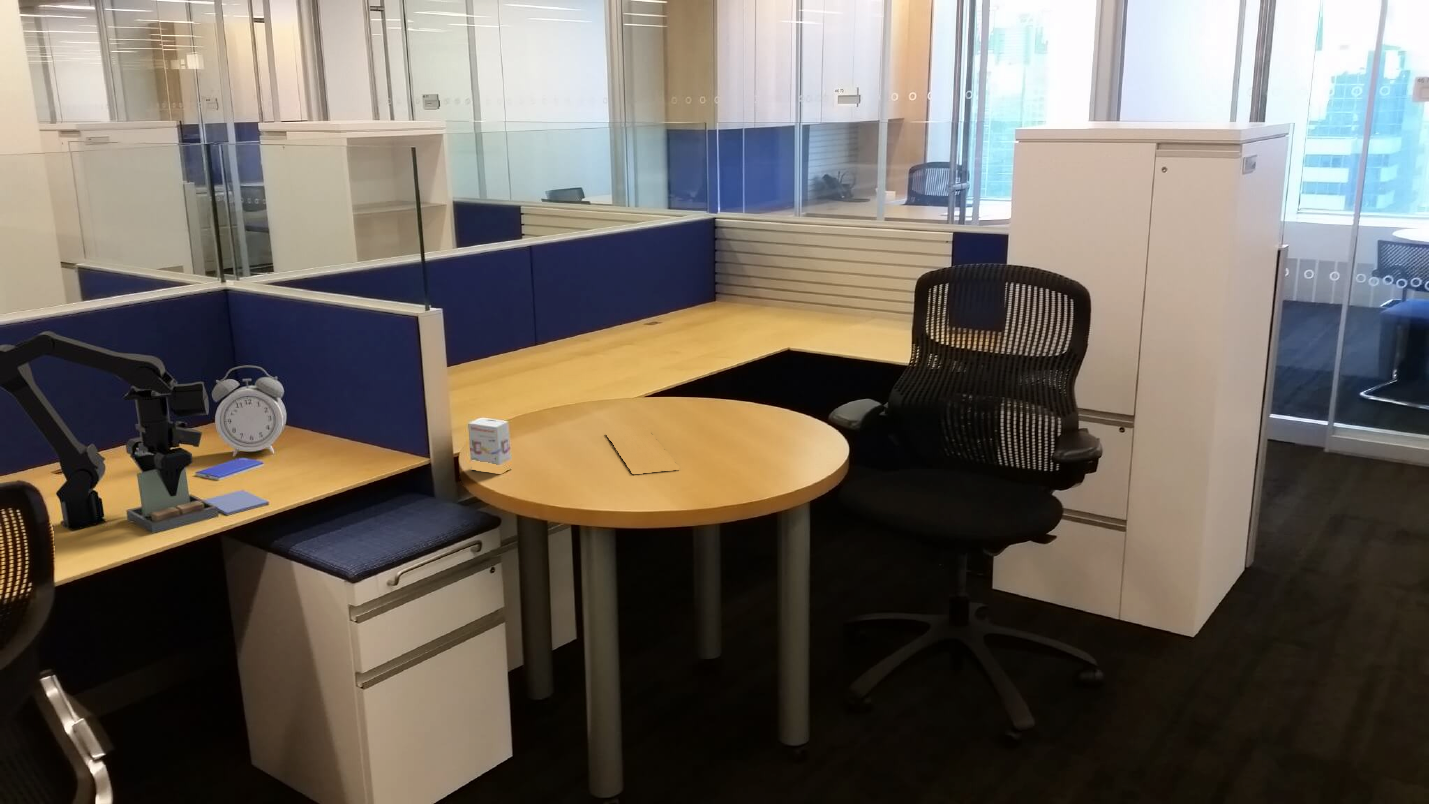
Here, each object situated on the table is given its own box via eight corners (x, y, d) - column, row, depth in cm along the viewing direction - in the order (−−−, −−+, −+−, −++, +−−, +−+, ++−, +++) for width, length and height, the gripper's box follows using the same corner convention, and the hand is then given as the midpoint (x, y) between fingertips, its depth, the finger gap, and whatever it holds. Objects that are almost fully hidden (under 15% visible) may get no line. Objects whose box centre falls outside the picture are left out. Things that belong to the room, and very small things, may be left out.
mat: (227, 515, 228) (227, 512, 228) (201, 502, 236) (201, 500, 236) (268, 504, 235) (268, 501, 235) (242, 492, 243) (242, 489, 242)
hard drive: (240, 457, 265) (194, 471, 255) (263, 461, 261) (218, 476, 251) (241, 463, 266) (195, 477, 255) (264, 467, 262) (219, 482, 251)
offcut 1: (159, 529, 221) (157, 515, 220) (152, 526, 223) (150, 512, 222) (181, 523, 224) (179, 510, 223) (174, 520, 226) (172, 506, 225)
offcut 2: (183, 523, 225) (182, 509, 224) (178, 519, 227) (176, 505, 226) (205, 517, 228) (203, 503, 227) (199, 514, 230) (197, 500, 229)
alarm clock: (216, 460, 267) (205, 371, 261) (223, 450, 275) (212, 364, 269) (288, 454, 271) (278, 367, 265) (292, 444, 279) (283, 360, 273)
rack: (152, 533, 218) (151, 524, 218) (127, 519, 227) (126, 510, 226) (218, 516, 228) (217, 507, 227) (192, 503, 236) (191, 494, 236)
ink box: (469, 471, 256) (466, 421, 253) (482, 465, 260) (479, 416, 258) (499, 475, 252) (496, 425, 250) (512, 469, 257) (509, 420, 254)
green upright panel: (146, 521, 225) (139, 475, 223) (143, 519, 226) (136, 473, 224) (191, 510, 232) (185, 464, 229) (187, 508, 233) (181, 463, 230)
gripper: (213, 418, 224) (222, 491, 228) (174, 403, 236) (184, 473, 240) (157, 429, 216) (167, 505, 220) (120, 414, 228) (130, 485, 232)
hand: (164, 491), depth 228 cm, fingers open, 9 cm apart
